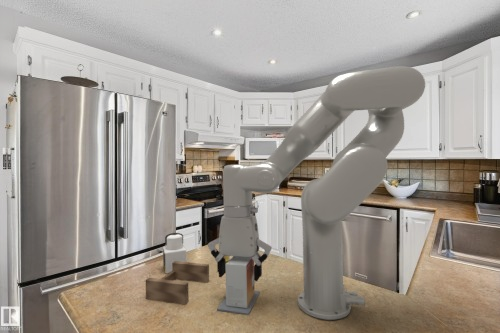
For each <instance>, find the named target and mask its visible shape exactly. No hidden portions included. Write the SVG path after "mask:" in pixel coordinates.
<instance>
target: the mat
mask: <svg viewBox="0 0 500 333" xmlns="http://www.w3.org/2000/svg"><path fill="white" fill-rule="evenodd" d="M260 293H261V292H260V290H255V294H254V295H253V297H252V299H251V301H250V303H249V305H248V307H247V308H241V307H233V306H226V296H225V298H224V299H223V300H222V302H221V303H220V304H219V306H218V307H217V310H216V311H219V312H226V313H231V314H232V313H233V314H237V315H245V316H249V315H250V313H251V311H252V309H253V307H254V305H255V303H256V301H257V298H258V297H259V295H260Z"/></svg>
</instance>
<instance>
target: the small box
mask: <svg viewBox="0 0 500 333" xmlns="http://www.w3.org/2000/svg"><path fill="white" fill-rule="evenodd" d="M254 265H255V262H254V261H253V259H252V258H251V257H237V256H231V258H230V260H229V261H228V262H227V263H226V264H225V267H226V273H225V297H226V306H233V307H241V308H247V307H248V305H249V303H250V301H251V299H252V297H253V295H254V294H255V291H256V288H255V280H254Z"/></svg>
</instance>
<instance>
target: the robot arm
mask: <svg viewBox="0 0 500 333" xmlns="http://www.w3.org/2000/svg"><path fill="white" fill-rule="evenodd" d="M425 88H426V80H425V77H424V75H423V74H422V73H421V72H420V71H419V70H417V69H416V68H414V67H411V66H404V65H398V66H397V65H396V66H390V67H383V68H375V69H367V70H359V71H350V72H347V73H342V74H340V75H337V76H335V77H333V79H332V80H331V81H330V82H329V83H328V85H327V86H326V88H325V90H324V92H323V93H322V94H321V95H320V96H319V97H318V98H317V99H316V100H315V101H314V102H313V104H312V105H311V106H310V107H309V108H308V109H307V110H306V111H305V113H303V114H302V115H301V116H300V118H299V119H298V120H297V121H296V122H295V123H293V125H292V126H291V127H290V129H288V132H287V133H286V135H285V137H284V139H283V140H282V142H281V143H280V144H279V146H277V148H276V149H275V150H274V151H273V152H272V153H271V155H270V156H269V157H268V158H267V159H266V160H265V161H264V162H262V163H255V164H238V163H237V164H227V165H225V166H224V167H223V170H222V183H223V184H222V185H223V186H222V189H223V216H221V220H220V224H219V232H218V238H216V239H214V240H212V241H209V243H208V244H207V247H208V249H209V251H210V254H211V255H212V257H213V258H214V259H215V262H216V263H217V264H216V266H217V268H216V269H217V271H216V272H217V273H218V278H222V277H223V276H225V275H226V267H225V258H224V256H225V255H226V256H230V257H233V256H237V257H251V258H252V259H253V261H254V282H258V280H259V279H260V278H262V274H263V268H262V266H263V263H264V262H265V261H266V260H267V259H268V257H269V255H270V254H271V251H272V249H273V248H272V246H271V245H270V244H268V243H266V242H264V241H263V240H261V239H260V235H259V234H260V233H259V228H258V227H259V226H258V221H257V216H256V215H254V214H257V213H259V212H258V211H259V208H258V207H255V206H254V204H253V193H260V194H269V193H273V192H275V191H276V190H277V189H278V188H279V187H280V185H281V183H282V182H283V181H284V180H285V179H286V177H288V176H289V174H291V172H292V171H294V169H295V168H296V167H298V165H300V163H302V162H303V161H304V160H305V159H306V158H308V157H309V156H311V155H312V154H313V153H314V152H316V150H317V149H319V147H320V146H322V145H323V144H324V143H325V141H326V140H327V139H328V138H329V137H330V136H331V135H332V134H333V133H334V132H335V131H336V130H337V129H338V128H339V127H340V126H341V125H342V124H343V123H344V122H345V121H346V120H347V118H348V117H349V116H350V115H352V113H353V112H355V111H364V110H365V111H367V112H368V119H367V120H368V121H367V123H366V124H365V126H364V127H363V128H362V129H361V130H360V132H359V133H358V134H357V135H356V136H355V137H354V138H353V139H352V140H351V141H350V142H349V143H348V144H347V145H345V147H344V148H342V149H341V150H340V151H339V152H338V153H337V154H336V155H335V157H334V158H333V162H332V165H331V166H330V167H329V169H328V170H327V171H326V172H325V173H324V174H323V175H322V176H321V177H320V178H314V179H312V180H310V181H308V182H307V183H306V184H305V185H304V187H303V189H302V192H301V195H300V196H301V197H300V198H301V199H300V204H301V205H300V206H301V219H302V221H301V224H302V263H303V264H302V268H303V271H302V272H303V291H302V292H300V293H299V295H298V297H297V305H298V307H299V309H300V310H302V312H303V313H305V314H307V315H309V316H311V317H314V318H317V319H320V320H328V321H332V320H333V321H334V320H340V319H344V318H346V317H347V316H348V315H349V314H350V313H351V311H352V310H351V309H352V308H351V305H357V306H364V307H365V305H366V302H365V296H363V295H362V296H361V295H359V294H358V292H357V291H348V290H347V289H345V284H344V264H343V263H344V259H343V257H344V255H343V252H344V251H343V243H344V242H343V226H342V221H344V220H345V219H346V218H348V217H349V216H350V215H351V214H352V213H353V212H354V211H355V210H356V209H357V208H358V207H359V206H360V205H361V204H362V203H363V202H364V201H365V200H366V199H367V198H368V197H369V196H370V195H371V194H372V193H374V191H375V190H376V189H377V188H378V186H380V184H382V182H383V180H384V178H385V177H386V175H387V171H388V160H387V157H388V156H389V155H390V153H391V152H392V151H393V150H394V149H395V148H396V147H397V145H398V144H399V143H400V142H401V140H402V139H403V136H404V132H405V117H404V112H403V110H404V109H406V108H408V107H410V106H412V105H414V104H416V103H417V102H418V101H419V100H420V99H421V97H422V96H423V94H424V92H425V90H426V89H425ZM216 245H218V249H217V247H216ZM260 249H263V254H260V253H259V251H260Z"/></svg>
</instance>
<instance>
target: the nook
mask: <svg viewBox="0 0 500 333" xmlns="http://www.w3.org/2000/svg"><path fill="white" fill-rule="evenodd" d="M181 280H182V281H181ZM188 281H190V282H199V283H205V284H206V283H208V282H209V281H210V264H209V263H208V264H207V263H199V262H187V261H186V262H178V261H174V262H173V263H172V271H171V272H170V273H167V274H165V275H164V276H163V277H161V278H156V277H148V278H146V279H145V299H146V300H152V301H153V300H154V301H159V302H165V303H174V304H180V305H187V303H189V282H188Z"/></svg>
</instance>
